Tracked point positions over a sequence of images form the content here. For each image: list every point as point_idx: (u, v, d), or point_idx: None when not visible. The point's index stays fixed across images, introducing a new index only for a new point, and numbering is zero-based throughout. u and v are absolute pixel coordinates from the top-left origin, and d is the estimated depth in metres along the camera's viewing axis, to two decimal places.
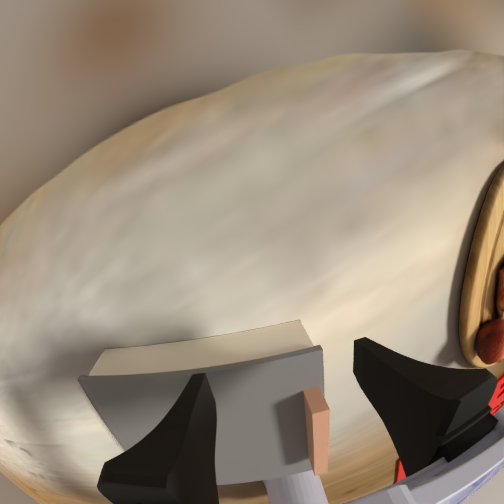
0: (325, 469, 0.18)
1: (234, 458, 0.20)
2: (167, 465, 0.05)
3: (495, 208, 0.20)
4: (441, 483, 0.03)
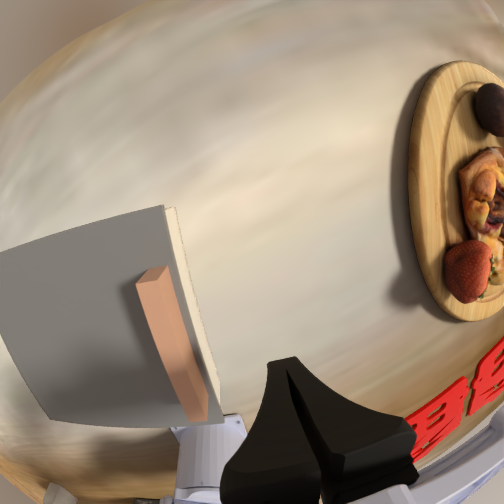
0: (201, 413, 0.15)
1: (102, 379, 0.17)
2: (304, 449, 0.05)
3: (434, 95, 0.17)
4: (441, 483, 0.03)
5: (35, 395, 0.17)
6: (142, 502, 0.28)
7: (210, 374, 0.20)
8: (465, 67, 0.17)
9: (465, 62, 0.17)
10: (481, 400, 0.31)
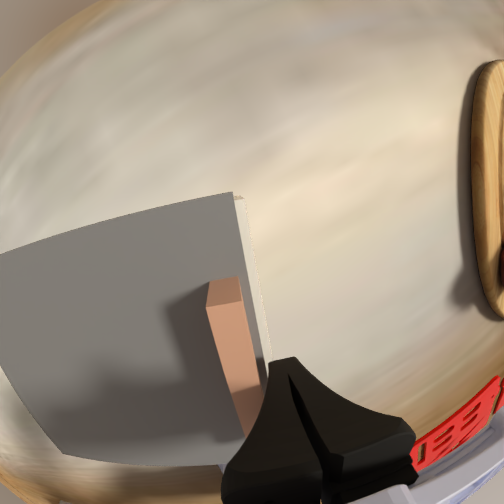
0: None
1: (133, 418, 0.13)
2: (305, 449, 0.05)
3: (490, 91, 0.13)
4: (441, 483, 0.03)
5: (44, 429, 0.13)
6: None
7: None
8: None
9: None
10: None
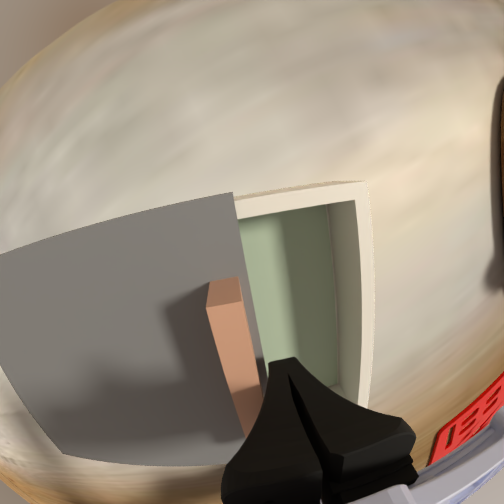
0: None
1: (133, 418, 0.13)
2: (305, 449, 0.05)
3: None
4: (441, 483, 0.03)
5: (44, 429, 0.13)
6: None
7: None
8: None
9: None
10: None
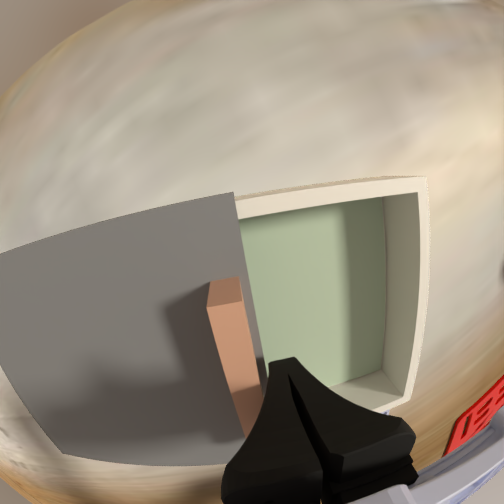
0: None
1: (133, 418, 0.13)
2: (305, 449, 0.05)
3: None
4: (441, 483, 0.03)
5: (44, 428, 0.13)
6: None
7: None
8: None
9: None
10: None
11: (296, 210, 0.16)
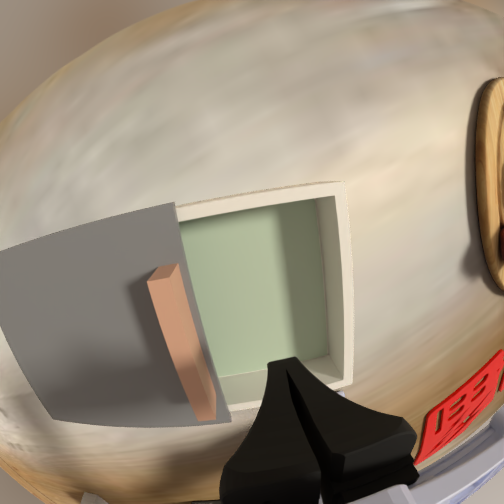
0: (209, 411, 0.15)
1: (108, 378, 0.17)
2: (304, 449, 0.05)
3: (491, 105, 0.18)
4: (441, 483, 0.03)
5: (38, 395, 0.17)
6: None
7: None
8: None
9: None
10: None
11: (236, 213, 0.20)
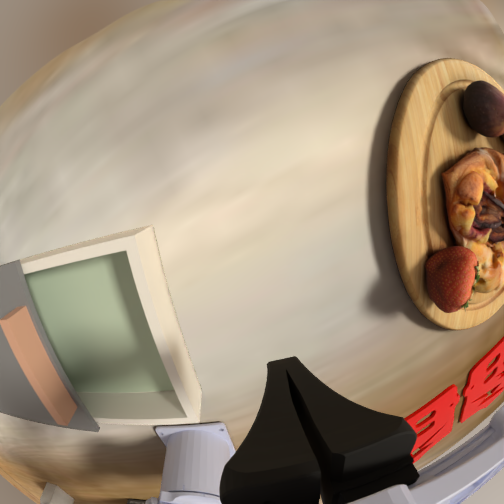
0: (60, 418, 0.15)
1: (14, 382, 0.16)
2: (304, 449, 0.05)
3: (416, 94, 0.17)
4: (441, 483, 0.03)
5: None
6: (135, 503, 0.29)
7: (190, 386, 0.20)
8: (453, 65, 0.17)
9: (453, 59, 0.17)
10: (473, 407, 0.31)
11: (81, 259, 0.19)
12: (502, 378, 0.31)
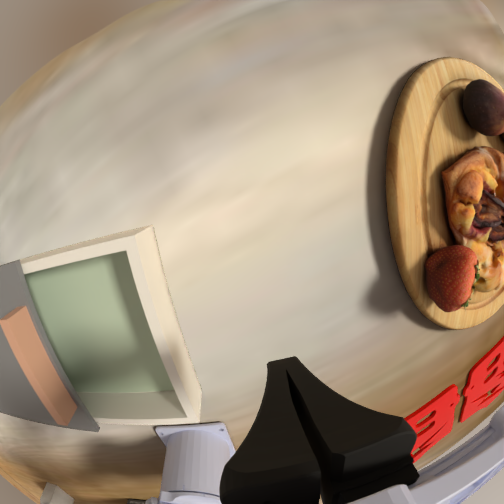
0: (60, 418, 0.15)
1: (14, 382, 0.16)
2: (304, 449, 0.05)
3: (416, 92, 0.17)
4: (441, 483, 0.03)
5: None
6: (135, 503, 0.29)
7: (190, 386, 0.20)
8: (453, 64, 0.17)
9: (453, 58, 0.16)
10: (473, 407, 0.31)
11: (81, 259, 0.19)
12: (502, 378, 0.31)
